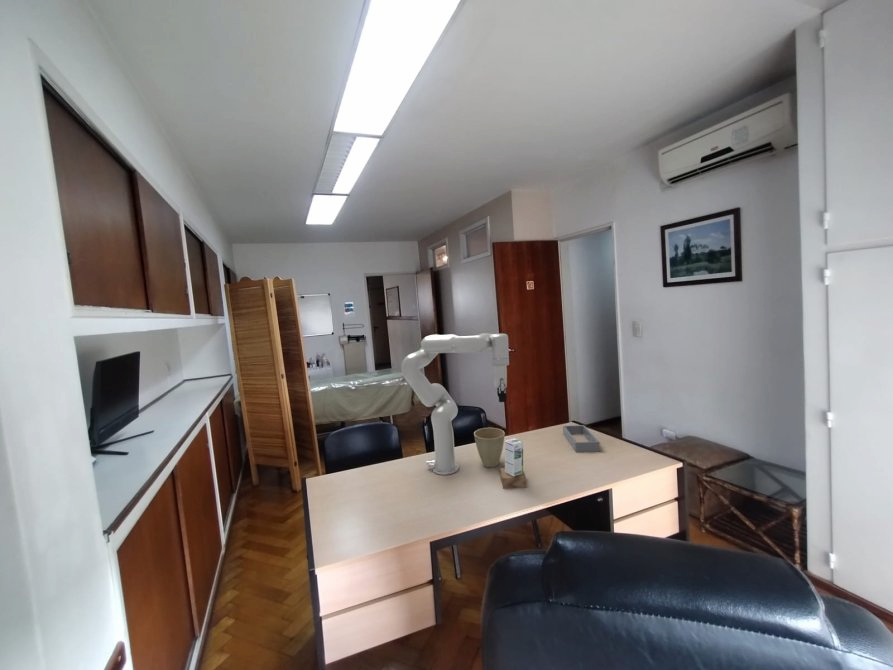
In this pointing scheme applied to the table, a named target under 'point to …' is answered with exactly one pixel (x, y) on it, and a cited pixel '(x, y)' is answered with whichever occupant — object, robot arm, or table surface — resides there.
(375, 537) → the table surface
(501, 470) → the walnut block
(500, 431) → the plant pot
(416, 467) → the table surface
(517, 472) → the syrup box
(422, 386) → the robot arm
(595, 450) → the frame
